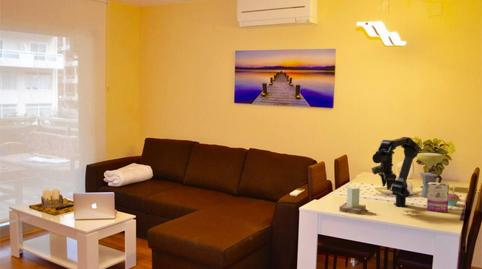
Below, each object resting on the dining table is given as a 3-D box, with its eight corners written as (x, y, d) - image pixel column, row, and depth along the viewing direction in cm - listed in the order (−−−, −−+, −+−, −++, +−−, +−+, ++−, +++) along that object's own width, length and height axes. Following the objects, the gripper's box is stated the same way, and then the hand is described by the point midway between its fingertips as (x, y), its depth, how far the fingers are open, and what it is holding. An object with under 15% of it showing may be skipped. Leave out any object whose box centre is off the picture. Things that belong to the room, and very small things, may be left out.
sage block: (346, 205, 261) (347, 187, 260) (354, 204, 263) (354, 186, 261) (351, 207, 256) (352, 189, 255) (358, 206, 258) (359, 188, 257)
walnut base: (339, 211, 258) (339, 207, 257) (345, 206, 268) (345, 202, 268) (359, 214, 252) (360, 210, 251) (365, 209, 262) (365, 205, 261)
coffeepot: (415, 195, 296) (416, 168, 294) (423, 193, 302) (425, 167, 300) (436, 200, 284) (437, 172, 282) (444, 198, 289) (446, 171, 287)
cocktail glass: (447, 188, 317) (449, 154, 314) (432, 191, 306) (434, 156, 304) (424, 184, 331) (426, 150, 329) (409, 187, 321) (411, 152, 319)
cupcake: (462, 206, 270) (463, 187, 269) (449, 206, 269) (450, 187, 267) (453, 202, 278) (454, 183, 277) (440, 203, 277) (441, 184, 276)
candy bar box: (447, 210, 261) (448, 183, 259) (447, 212, 256) (449, 184, 254) (426, 208, 265) (427, 181, 263) (426, 210, 260) (428, 183, 258)
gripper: (369, 158, 268) (368, 184, 270) (377, 164, 250) (376, 191, 251) (387, 159, 268) (386, 184, 269) (397, 164, 249) (395, 191, 251)
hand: (385, 187), depth 260 cm, fingers open, 9 cm apart
